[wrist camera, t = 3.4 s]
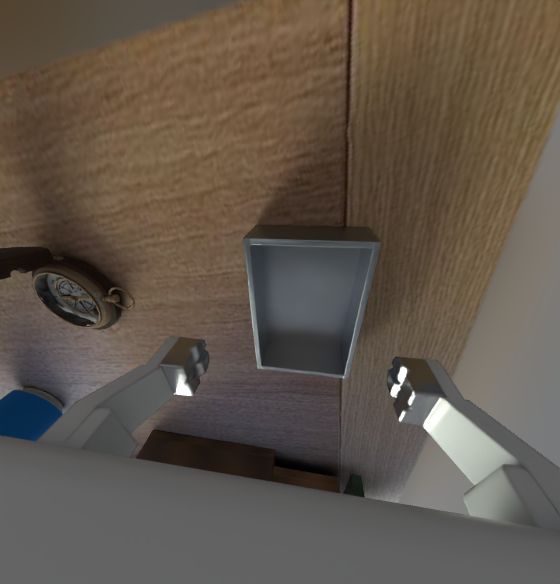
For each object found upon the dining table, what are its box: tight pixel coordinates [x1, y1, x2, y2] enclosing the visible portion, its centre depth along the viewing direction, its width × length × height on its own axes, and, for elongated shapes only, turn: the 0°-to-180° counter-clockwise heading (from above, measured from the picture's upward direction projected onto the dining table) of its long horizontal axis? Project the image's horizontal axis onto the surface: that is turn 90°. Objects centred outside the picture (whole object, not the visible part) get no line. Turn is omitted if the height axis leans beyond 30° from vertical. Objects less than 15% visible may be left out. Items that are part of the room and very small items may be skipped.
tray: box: [243, 225, 381, 379], centre depth 12 cm, size 6×9×2 cm, turn 1°
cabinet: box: [136, 430, 276, 481], centre depth 27 cm, size 17×15×10 cm
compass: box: [0, 247, 135, 330], centre depth 12 cm, size 8×8×7 cm
